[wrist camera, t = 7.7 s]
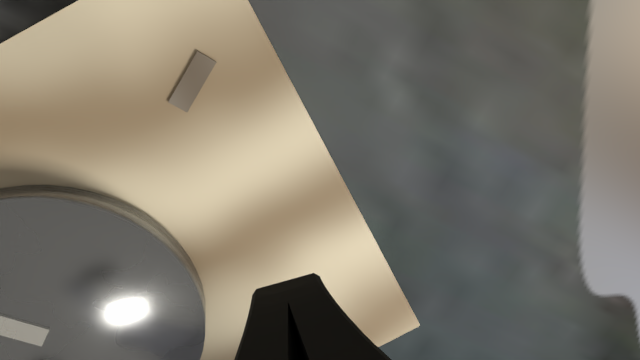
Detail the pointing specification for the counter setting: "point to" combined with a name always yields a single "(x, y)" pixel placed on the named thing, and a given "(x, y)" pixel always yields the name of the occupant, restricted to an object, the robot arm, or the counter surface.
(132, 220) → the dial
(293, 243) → the board
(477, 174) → the counter surface
